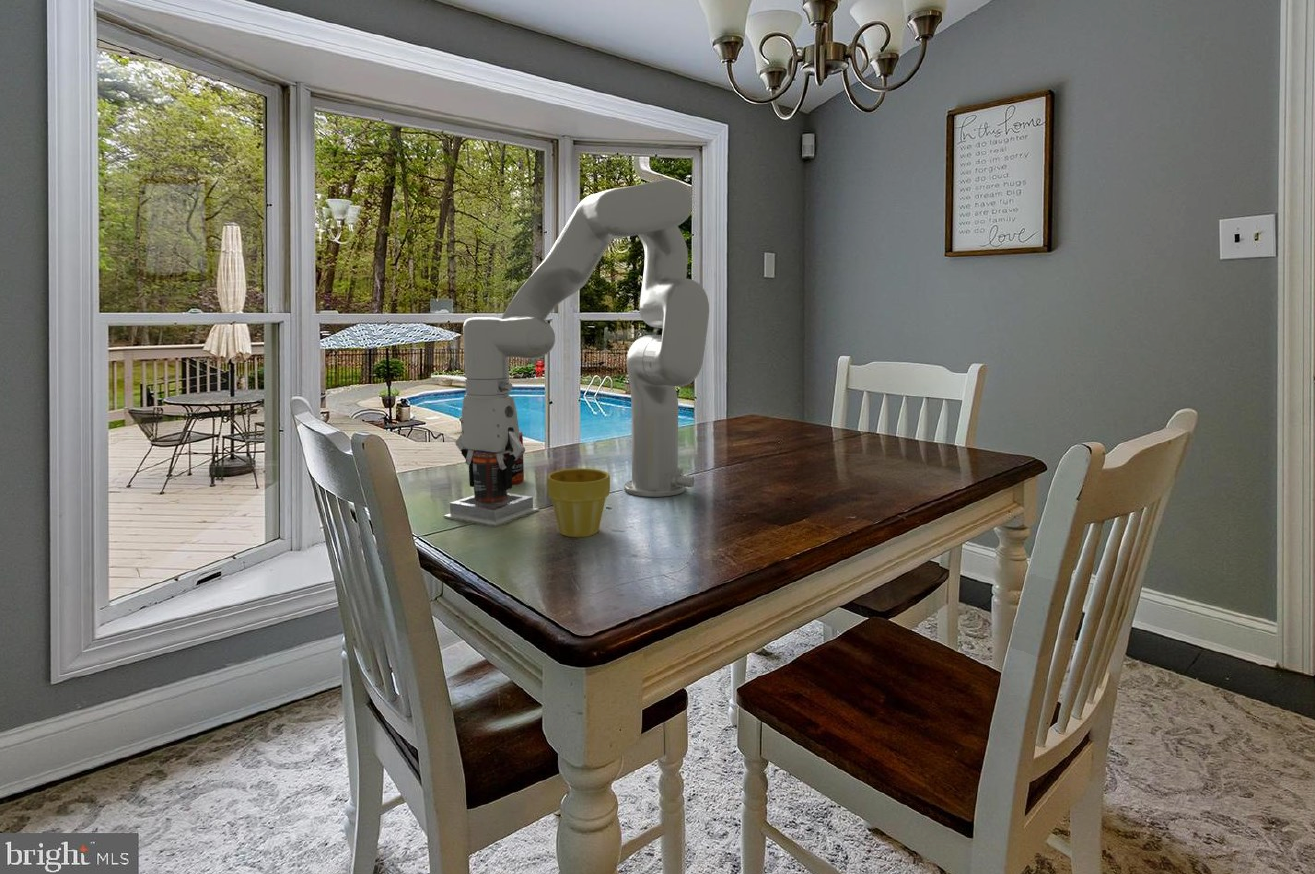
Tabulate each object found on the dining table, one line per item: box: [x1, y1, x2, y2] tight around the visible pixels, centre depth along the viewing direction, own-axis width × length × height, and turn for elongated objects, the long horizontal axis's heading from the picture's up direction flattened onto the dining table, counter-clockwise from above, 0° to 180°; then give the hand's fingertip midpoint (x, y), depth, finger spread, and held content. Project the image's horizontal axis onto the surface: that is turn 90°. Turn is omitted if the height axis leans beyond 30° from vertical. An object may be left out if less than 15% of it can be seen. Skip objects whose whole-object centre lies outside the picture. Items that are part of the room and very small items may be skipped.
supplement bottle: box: [473, 450, 509, 503], centre depth 132 cm, size 6×6×11 cm
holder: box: [443, 492, 540, 528], centre depth 133 cm, size 12×12×3 cm
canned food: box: [511, 429, 525, 486], centre depth 158 cm, size 8×8×11 cm
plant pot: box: [546, 467, 611, 538], centre depth 122 cm, size 10×10×10 cm
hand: (490, 486), depth 133 cm, fingers closed on supplement bottle, 6 cm apart
